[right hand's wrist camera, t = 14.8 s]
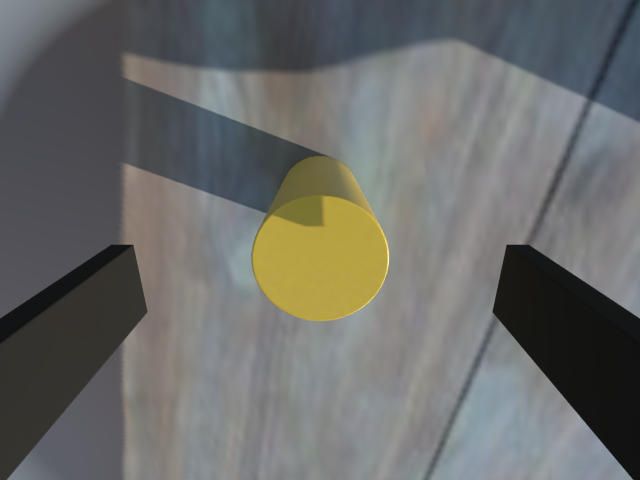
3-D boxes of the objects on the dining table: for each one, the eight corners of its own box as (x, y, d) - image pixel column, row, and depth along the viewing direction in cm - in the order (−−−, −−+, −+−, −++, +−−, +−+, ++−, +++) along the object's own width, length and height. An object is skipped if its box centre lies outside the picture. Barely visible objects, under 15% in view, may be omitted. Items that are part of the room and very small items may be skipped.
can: (353, 150, 25) (384, 186, 13) (360, 225, 27) (392, 313, 15) (275, 161, 26) (238, 204, 14) (288, 234, 28) (264, 328, 16)
